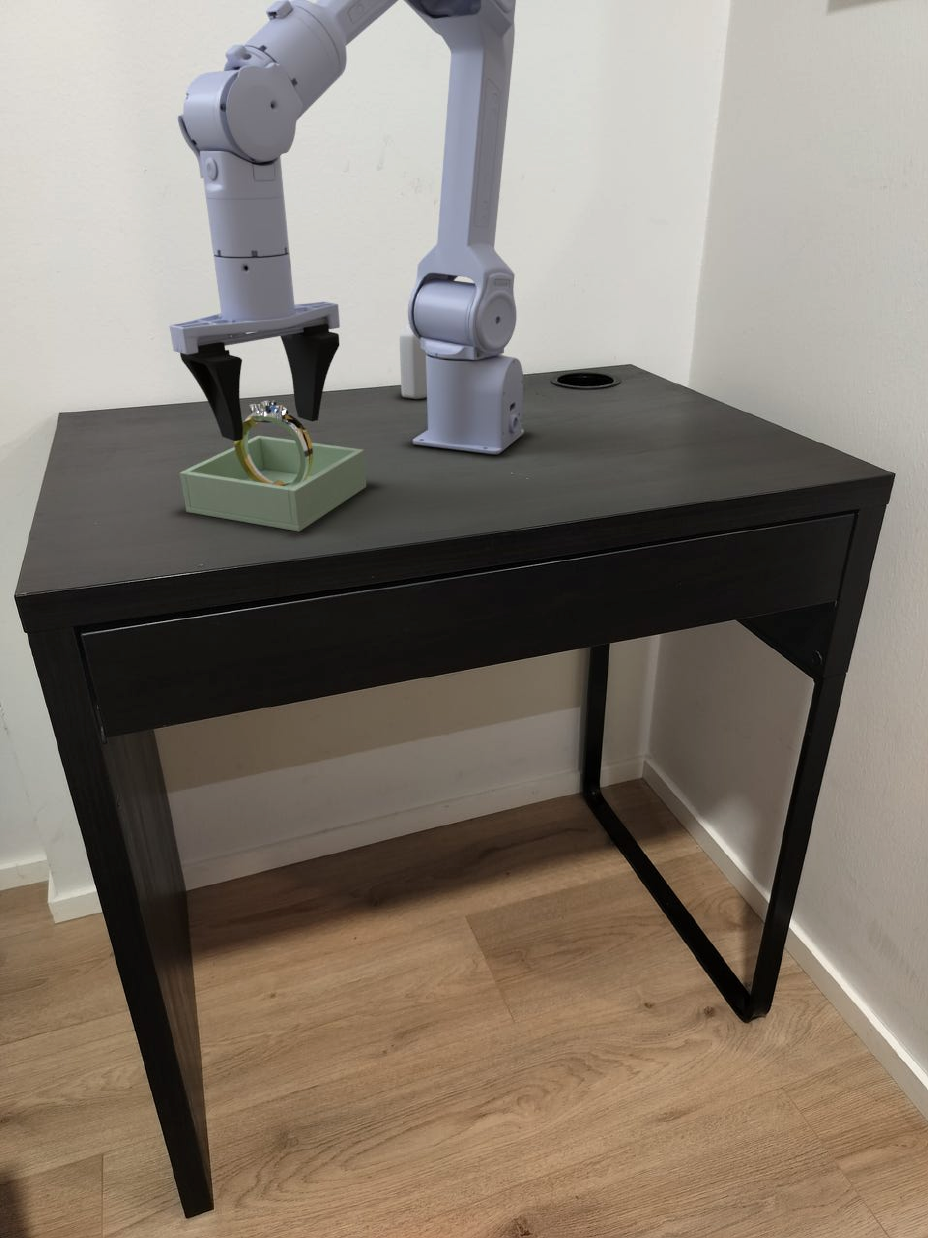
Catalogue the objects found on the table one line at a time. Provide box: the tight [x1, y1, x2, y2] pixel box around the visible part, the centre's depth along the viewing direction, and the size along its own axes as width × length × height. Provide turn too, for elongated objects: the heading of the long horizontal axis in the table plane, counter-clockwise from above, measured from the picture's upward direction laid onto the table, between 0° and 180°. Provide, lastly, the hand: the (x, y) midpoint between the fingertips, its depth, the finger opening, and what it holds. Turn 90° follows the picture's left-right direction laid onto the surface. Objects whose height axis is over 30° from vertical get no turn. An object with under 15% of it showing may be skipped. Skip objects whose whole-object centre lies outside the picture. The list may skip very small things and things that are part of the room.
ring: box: [233, 400, 313, 488], centre depth 75 cm, size 7×3×8 cm, turn 64°
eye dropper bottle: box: [399, 320, 427, 400], centre depth 105 cm, size 4×6×12 cm
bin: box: [179, 435, 367, 532], centre depth 76 cm, size 11×11×4 cm
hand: (271, 428), depth 74 cm, fingers open, 7 cm apart
